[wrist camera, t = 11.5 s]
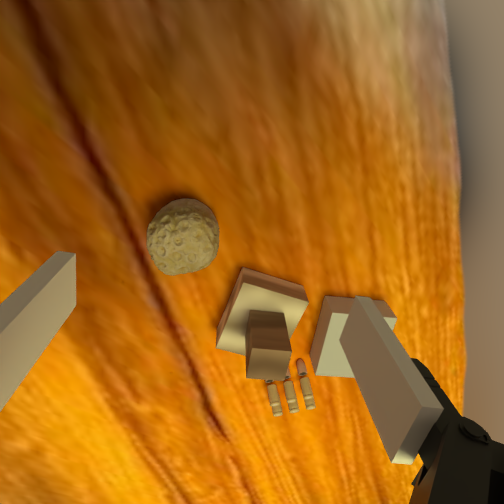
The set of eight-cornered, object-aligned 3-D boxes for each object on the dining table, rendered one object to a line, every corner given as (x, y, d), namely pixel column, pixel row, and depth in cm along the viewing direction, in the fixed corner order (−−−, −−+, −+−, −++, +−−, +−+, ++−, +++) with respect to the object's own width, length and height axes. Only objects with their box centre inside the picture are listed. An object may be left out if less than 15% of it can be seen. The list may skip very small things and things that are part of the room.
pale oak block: (242, 265, 53) (243, 282, 49) (302, 284, 55) (308, 302, 51) (217, 327, 58) (215, 347, 53) (273, 342, 60) (276, 363, 55)
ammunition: (316, 411, 60) (309, 377, 57) (274, 420, 60) (264, 386, 57) (311, 389, 64) (303, 356, 61) (271, 397, 65) (262, 365, 61)
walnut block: (249, 309, 50) (252, 348, 43) (284, 313, 51) (291, 351, 44) (245, 337, 53) (246, 378, 45) (277, 340, 53) (284, 381, 46)
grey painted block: (324, 294, 56) (332, 312, 51) (384, 299, 57) (397, 318, 52) (309, 353, 61) (315, 375, 56) (364, 357, 62) (375, 378, 57)
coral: (216, 193, 48) (214, 211, 41) (222, 254, 52) (221, 280, 45) (148, 197, 48) (134, 216, 41) (159, 258, 52) (148, 285, 45)
